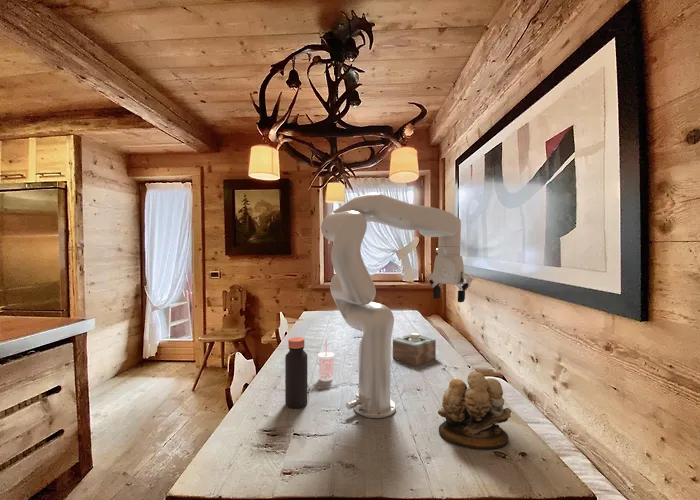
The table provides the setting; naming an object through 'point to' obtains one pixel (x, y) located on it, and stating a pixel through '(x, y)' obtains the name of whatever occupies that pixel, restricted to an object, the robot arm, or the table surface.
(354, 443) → the table surface
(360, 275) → the robot arm
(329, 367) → the beverage cup
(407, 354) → the box
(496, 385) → the owl figurine
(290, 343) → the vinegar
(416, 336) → the pill bottle
